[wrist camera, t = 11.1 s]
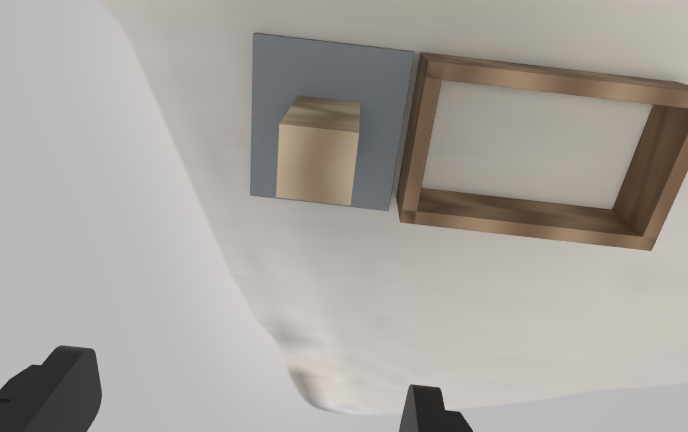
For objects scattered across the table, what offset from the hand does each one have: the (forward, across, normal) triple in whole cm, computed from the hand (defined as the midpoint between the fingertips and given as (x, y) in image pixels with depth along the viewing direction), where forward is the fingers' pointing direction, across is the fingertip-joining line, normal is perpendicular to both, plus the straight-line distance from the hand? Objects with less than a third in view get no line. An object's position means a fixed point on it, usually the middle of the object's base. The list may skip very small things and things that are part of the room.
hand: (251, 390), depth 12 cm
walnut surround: (+26, -15, 0) cm, 30 cm away
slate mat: (+26, 0, 0) cm, 26 cm away
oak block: (+25, 0, 0) cm, 25 cm away
